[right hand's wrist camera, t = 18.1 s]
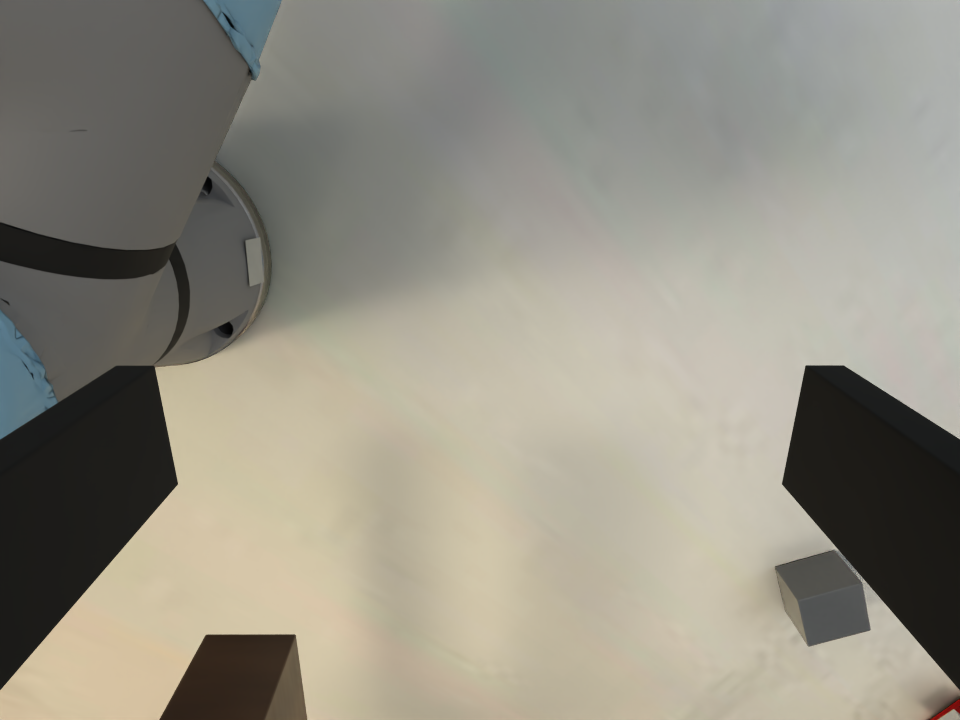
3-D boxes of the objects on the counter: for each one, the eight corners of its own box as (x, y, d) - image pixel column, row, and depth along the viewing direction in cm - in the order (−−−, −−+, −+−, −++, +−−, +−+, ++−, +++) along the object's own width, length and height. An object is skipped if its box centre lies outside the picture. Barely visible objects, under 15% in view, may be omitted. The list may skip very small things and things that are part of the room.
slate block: (785, 610, 53) (808, 647, 49) (774, 566, 51) (797, 600, 47) (843, 595, 52) (871, 630, 49) (834, 549, 51) (862, 582, 47)
